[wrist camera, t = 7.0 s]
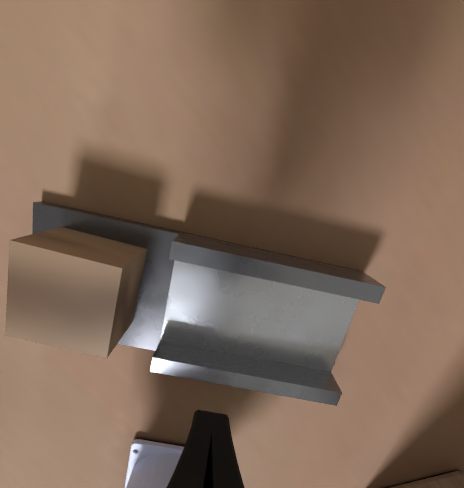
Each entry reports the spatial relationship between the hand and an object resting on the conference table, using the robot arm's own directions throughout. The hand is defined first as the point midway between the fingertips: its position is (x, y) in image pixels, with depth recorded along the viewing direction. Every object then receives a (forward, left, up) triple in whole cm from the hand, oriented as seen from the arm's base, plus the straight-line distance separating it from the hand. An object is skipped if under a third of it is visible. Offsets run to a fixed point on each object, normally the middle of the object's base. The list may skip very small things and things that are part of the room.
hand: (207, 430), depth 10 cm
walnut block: (+1, +9, -9) cm, 13 cm away
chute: (+1, +1, -9) cm, 9 cm away
